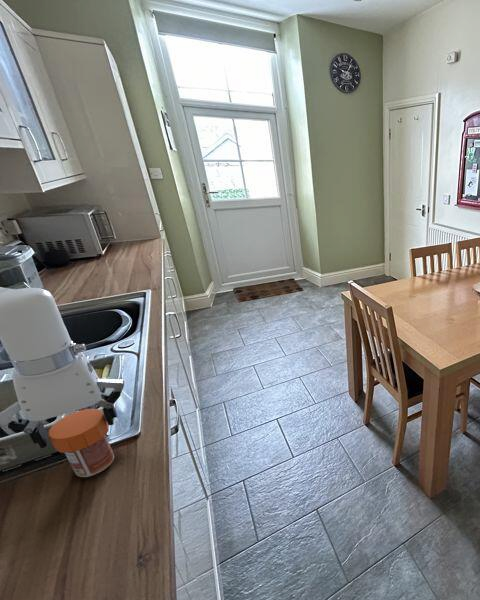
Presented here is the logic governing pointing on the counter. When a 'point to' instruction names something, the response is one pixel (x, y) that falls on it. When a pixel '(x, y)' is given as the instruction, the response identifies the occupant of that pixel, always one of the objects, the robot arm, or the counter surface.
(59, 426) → the cap
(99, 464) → the pill bottle
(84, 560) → the counter surface
